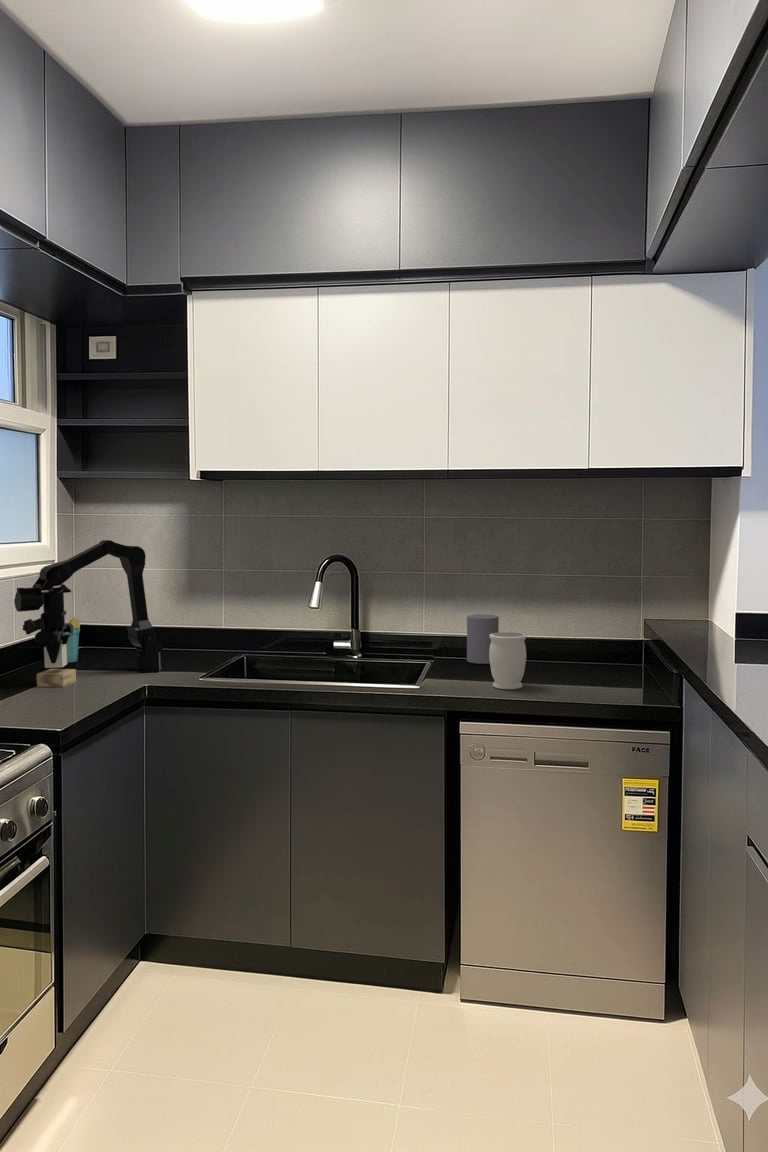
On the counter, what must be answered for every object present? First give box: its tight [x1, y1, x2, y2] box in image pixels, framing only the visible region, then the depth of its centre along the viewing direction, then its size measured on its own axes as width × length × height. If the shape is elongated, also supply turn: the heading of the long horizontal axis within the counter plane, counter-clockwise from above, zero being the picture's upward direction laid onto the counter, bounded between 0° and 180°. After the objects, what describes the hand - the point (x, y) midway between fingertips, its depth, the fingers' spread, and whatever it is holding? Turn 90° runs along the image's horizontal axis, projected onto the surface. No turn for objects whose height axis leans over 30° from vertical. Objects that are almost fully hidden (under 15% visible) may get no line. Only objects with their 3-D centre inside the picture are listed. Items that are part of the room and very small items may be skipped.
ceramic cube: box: [43, 644, 68, 669], centre depth 257 cm, size 5×5×6 cm
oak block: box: [36, 668, 77, 688], centre depth 258 cm, size 8×8×4 cm
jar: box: [489, 631, 527, 690], centre depth 249 cm, size 11×10×15 cm
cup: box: [64, 617, 81, 664], centre depth 293 cm, size 14×8×15 cm, turn 177°
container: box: [466, 613, 500, 665], centre depth 288 cm, size 10×10×15 cm
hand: (56, 661), depth 257 cm, fingers open, 5 cm apart
